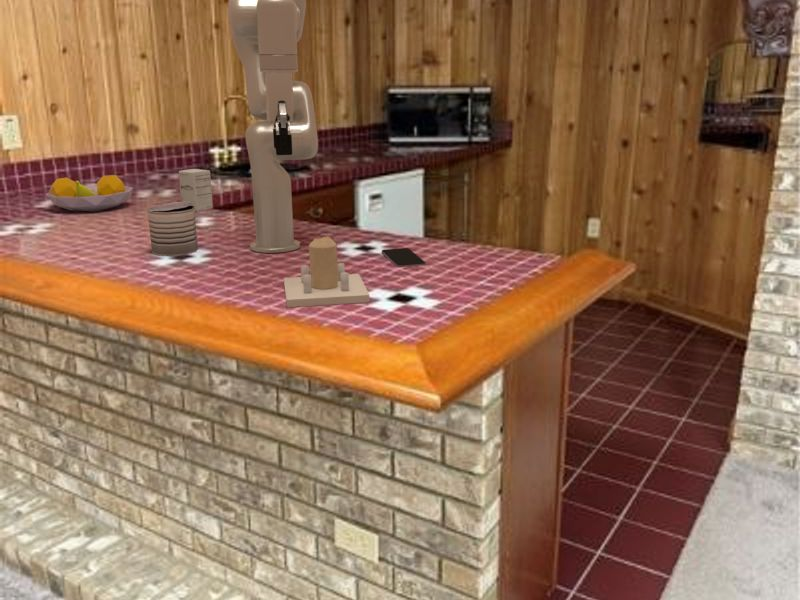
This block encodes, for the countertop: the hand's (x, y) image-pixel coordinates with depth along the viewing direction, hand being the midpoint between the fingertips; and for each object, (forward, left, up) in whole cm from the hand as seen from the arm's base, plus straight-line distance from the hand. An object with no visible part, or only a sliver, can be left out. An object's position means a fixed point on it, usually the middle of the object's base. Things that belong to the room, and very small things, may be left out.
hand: (282, 151), depth 153 cm
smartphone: (-14, +28, -28) cm, 42 cm away
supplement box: (-94, -26, -28) cm, 102 cm away
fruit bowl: (-102, -61, -28) cm, 123 cm away
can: (-33, -27, -28) cm, 51 cm away
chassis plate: (+12, +7, -28) cm, 31 cm away
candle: (+11, +7, -26) cm, 29 cm away
